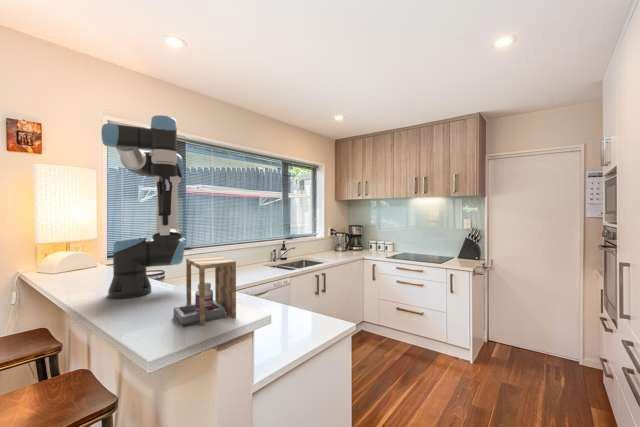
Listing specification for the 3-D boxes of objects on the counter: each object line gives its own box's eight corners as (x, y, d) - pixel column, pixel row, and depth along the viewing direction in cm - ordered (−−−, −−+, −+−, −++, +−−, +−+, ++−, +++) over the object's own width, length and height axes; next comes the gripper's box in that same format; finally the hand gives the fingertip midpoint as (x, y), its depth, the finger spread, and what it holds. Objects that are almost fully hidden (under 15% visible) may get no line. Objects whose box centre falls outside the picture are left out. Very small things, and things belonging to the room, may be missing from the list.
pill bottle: (206, 316, 94) (206, 286, 94) (191, 315, 95) (191, 285, 95) (216, 311, 99) (216, 282, 99) (202, 310, 100) (201, 281, 100)
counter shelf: (186, 311, 101) (186, 258, 101) (218, 305, 108) (218, 255, 108) (200, 326, 89) (200, 265, 89) (236, 317, 96) (235, 261, 95)
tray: (173, 316, 97) (173, 307, 97) (213, 308, 105) (213, 300, 105) (182, 327, 88) (182, 317, 88) (225, 317, 96) (225, 308, 96)
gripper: (148, 165, 102) (149, 233, 102) (154, 161, 91) (155, 237, 92) (172, 166, 106) (173, 232, 107) (180, 163, 96) (181, 236, 96)
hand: (164, 234), depth 99 cm, fingers closed
